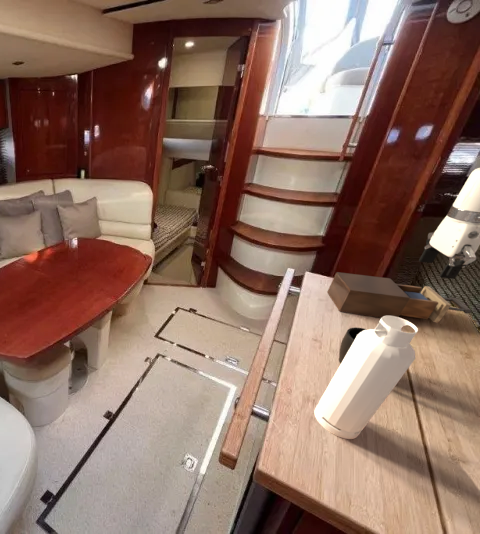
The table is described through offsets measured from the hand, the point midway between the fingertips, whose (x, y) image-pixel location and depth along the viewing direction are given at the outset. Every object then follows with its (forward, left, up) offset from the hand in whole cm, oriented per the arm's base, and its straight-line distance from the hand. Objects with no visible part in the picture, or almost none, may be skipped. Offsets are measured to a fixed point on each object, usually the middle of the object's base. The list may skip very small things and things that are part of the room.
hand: (435, 269), depth 91 cm
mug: (+26, +33, -17) cm, 45 cm away
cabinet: (+13, 0, -16) cm, 21 cm away
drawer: (-1, 0, -15) cm, 15 cm away
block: (0, 0, -14) cm, 14 cm away
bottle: (+36, +51, -17) cm, 64 cm away
